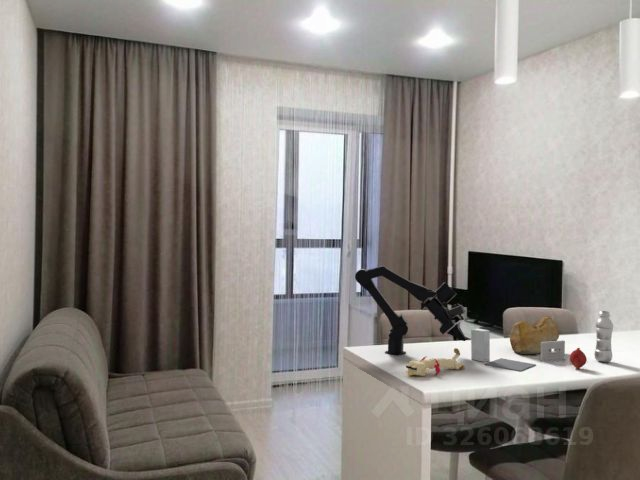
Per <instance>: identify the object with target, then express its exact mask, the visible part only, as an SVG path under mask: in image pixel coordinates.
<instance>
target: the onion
mask: <svg viewBox="0 0 640 480" xmlns="http://www.w3.org/2000/svg"><path fill="white" fill-rule="evenodd" d="M569 362H570V364H572V366H573V367H575V369H577V370H578V369H579V370H580V369H581V368H582V367H584V366H585V365H586V363H587V356H586V354H585V353H584V352H583V351H582V350H581V347H576V349H574V350H573V351H572V352H571V353H570V354H569Z"/></svg>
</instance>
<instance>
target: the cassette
mask: <svg viewBox="0 0 640 480" xmlns="http://www.w3.org/2000/svg"><path fill="white" fill-rule="evenodd" d="M552 350H553V351H552ZM565 350H566V341H565V340H564V339H563V340H557V341H549V342H541V352H540V362H543V363H544V362H545V363H546V362H556V361H564V360H565Z"/></svg>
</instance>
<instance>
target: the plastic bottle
mask: <svg viewBox="0 0 640 480" xmlns="http://www.w3.org/2000/svg"><path fill="white" fill-rule="evenodd" d="M598 315H599V318H598V319H597V320H596V322H595V332H596V334H595V335H596V343H595V350H594V353H593V354H594V359H595V360H596V361H599V362H601V363H610V362H611V361H612V360H613V351H612V336H613V332H614V330H613V329H614V324H613V322H612V320H611V318H610V316H611V313H610V311H607V310H600V311H599V314H598Z"/></svg>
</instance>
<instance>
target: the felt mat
mask: <svg viewBox="0 0 640 480" xmlns="http://www.w3.org/2000/svg"><path fill="white" fill-rule="evenodd" d="M484 365H485V366H491V367H495V368H499V369H500V368H501V369H506V370H511V371H515V372H522V371H523V372H524V371H525V370H528V369H530V367H531V368H533V367H535V366H537V364H536V363H530V362H524V361H519V360H512V359H507V358H504V357H503V358H498V359H495V360H490V361H487V362H484Z"/></svg>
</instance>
